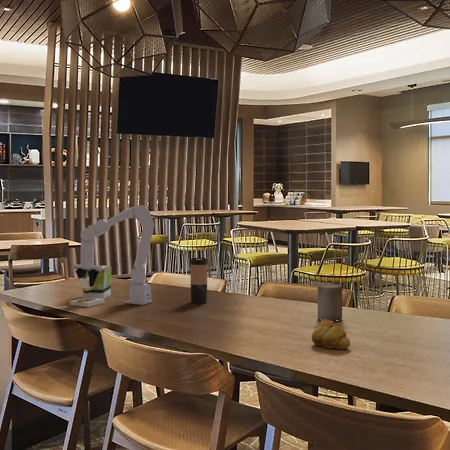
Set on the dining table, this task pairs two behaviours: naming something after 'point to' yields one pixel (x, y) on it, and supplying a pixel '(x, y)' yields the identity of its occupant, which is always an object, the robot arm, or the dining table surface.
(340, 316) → the pillar candle
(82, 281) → the plug
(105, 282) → the tea box
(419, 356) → the dining table surface
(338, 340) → the bread roll
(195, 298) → the travel mug
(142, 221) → the robot arm
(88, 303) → the socket plate
